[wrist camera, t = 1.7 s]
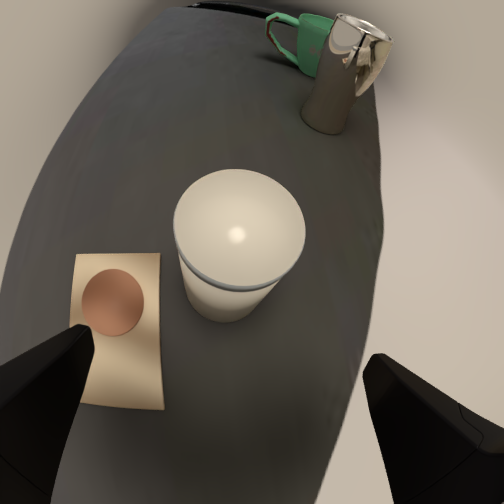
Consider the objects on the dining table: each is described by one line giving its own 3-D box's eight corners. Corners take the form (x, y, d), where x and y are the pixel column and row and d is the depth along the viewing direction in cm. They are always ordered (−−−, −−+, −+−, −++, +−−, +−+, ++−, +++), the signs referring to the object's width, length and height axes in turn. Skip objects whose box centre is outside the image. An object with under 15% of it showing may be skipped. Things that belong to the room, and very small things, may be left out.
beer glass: (352, 141, 32) (407, 50, 18) (303, 133, 30) (350, 26, 17) (336, 108, 34) (378, 25, 21) (292, 100, 33) (326, 7, 19)
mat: (164, 408, 17) (163, 410, 16) (74, 400, 15) (70, 401, 14) (160, 255, 21) (159, 251, 21) (78, 256, 20) (75, 252, 19)
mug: (335, 68, 41) (353, 27, 32) (342, 93, 37) (366, 45, 28) (258, 48, 39) (270, 3, 30) (253, 69, 35) (266, 15, 26)
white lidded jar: (265, 321, 21) (316, 283, 12) (185, 324, 20) (171, 288, 11) (258, 248, 23) (294, 171, 14) (184, 249, 22) (177, 168, 13)
